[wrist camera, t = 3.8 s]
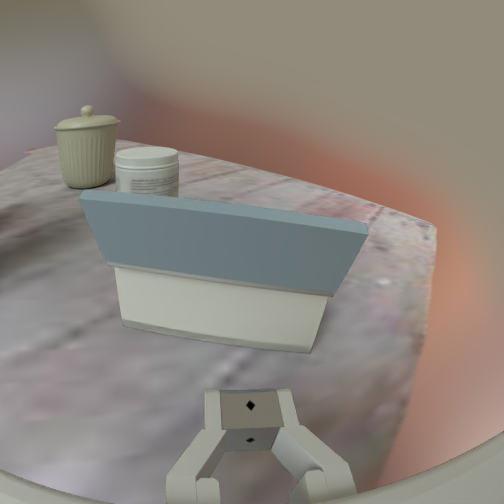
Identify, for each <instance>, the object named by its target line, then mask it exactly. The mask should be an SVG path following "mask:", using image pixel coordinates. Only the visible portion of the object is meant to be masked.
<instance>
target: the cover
mask: <svg viewBox="0 0 504 504" xmlns="http://www.w3.org/2000/svg"><path fill="white" fill-rule="evenodd" d="M79 202H80V204H81V207H82V209H83V211H84V214H85V216H86V219H87V221H88V223H89V225H90V228H91V230H92V232H93V235H94V237H95V239H96V241H97V243H98V246H99V248H100V250H101V252H102V254H103V256H104V258H105V260H106V261H107V264H108V266H113V267H119V268H125V269H131V270H137V271H143V272H149V273H156V274H162V275H168V276H175V277H182V278H188V279H195V280H202V281H209V282H216V283H223V284H230V285H238V286H245V287H253V288H261V289H268V290H277V291H285V292H293V293H301V294H310V295H319V296H328V297H333V295H334V292H336V291H337V289H338V287H339V286H340V284H341V282H342V280H343V279H344V277H345V275H346V274H347V272H348V270H349V268H350V267H351V265H352V263H353V261H354V260H355V258H356V256H357V254H358V253H359V251H360V249H361V247H362V245H363V243H364V242H365V240H366V238H367V236H368V230H367V225H366V223H361V222H355V221H349V220H343V219H337V218H331V217H325V216H318V215H312V214H305V213H298V212H291V211H284V210H277V209H270V208H262V207H255V206H247V205H239V204H231V203H223V202H215V201H206V200H197V199H188V198H178V197H168V196H158V195H148V194H136V193H125V192H112V191H99V190H85V189H84V191H83V192H82V194H81V196H80V197H79Z"/></svg>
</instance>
